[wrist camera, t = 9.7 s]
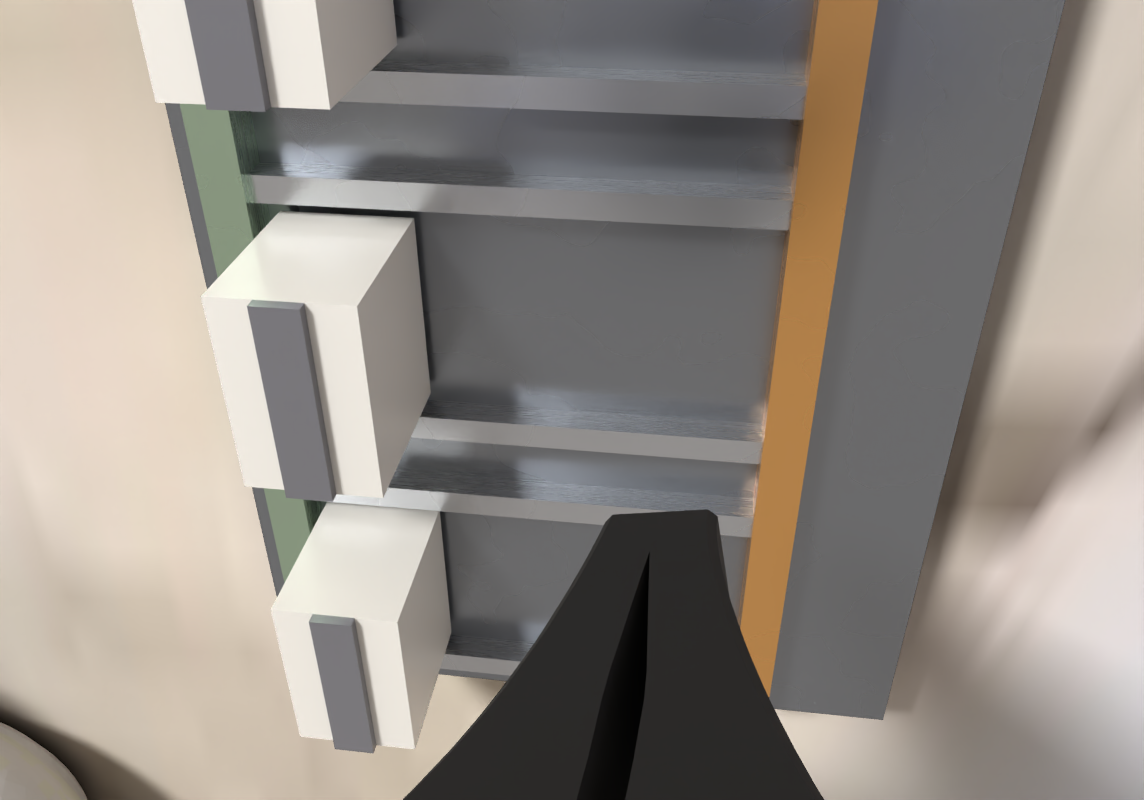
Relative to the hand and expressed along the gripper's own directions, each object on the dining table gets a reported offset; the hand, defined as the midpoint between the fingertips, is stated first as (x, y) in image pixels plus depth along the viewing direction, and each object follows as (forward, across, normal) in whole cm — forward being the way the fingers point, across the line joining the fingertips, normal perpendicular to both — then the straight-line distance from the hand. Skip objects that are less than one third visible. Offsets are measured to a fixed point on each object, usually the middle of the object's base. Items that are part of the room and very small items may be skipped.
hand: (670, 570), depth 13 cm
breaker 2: (+6, +6, -1) cm, 9 cm away
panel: (+8, +2, 0) cm, 8 cm away
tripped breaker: (+6, +7, +5) cm, 11 cm away
